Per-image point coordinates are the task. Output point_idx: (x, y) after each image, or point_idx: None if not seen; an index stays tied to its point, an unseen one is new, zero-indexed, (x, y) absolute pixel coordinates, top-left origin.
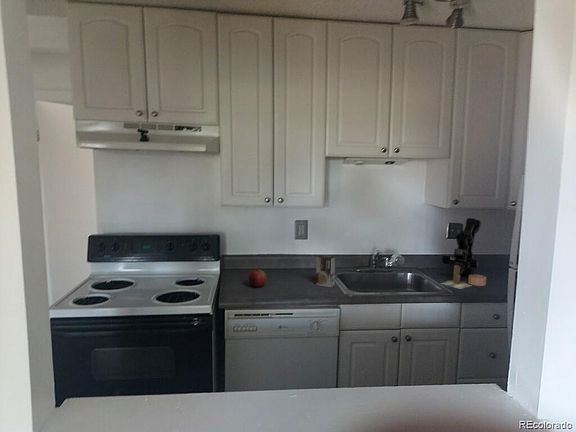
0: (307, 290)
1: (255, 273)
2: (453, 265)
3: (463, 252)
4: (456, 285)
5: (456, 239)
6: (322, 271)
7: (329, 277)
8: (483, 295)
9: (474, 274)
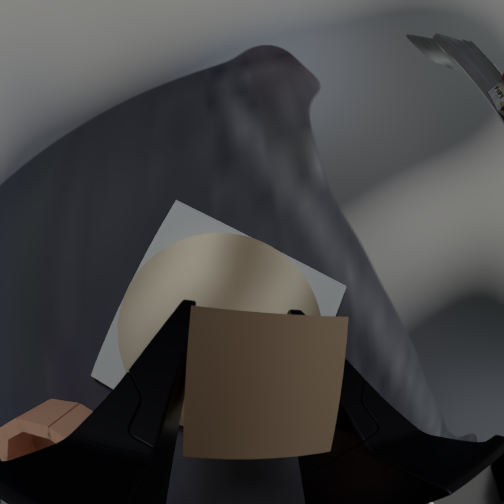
0: (483, 75)
1: None
2: (366, 411)
3: None
4: (211, 247)
5: None
6: None
7: (501, 82)
8: (39, 157)
9: None
